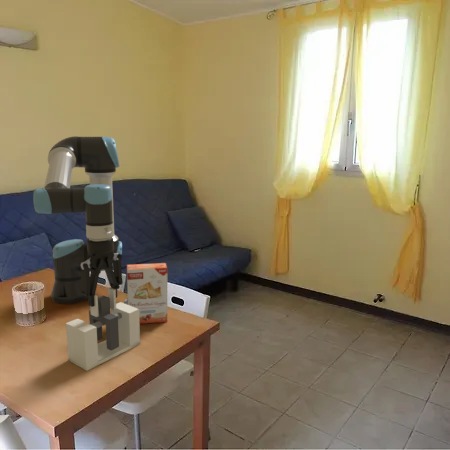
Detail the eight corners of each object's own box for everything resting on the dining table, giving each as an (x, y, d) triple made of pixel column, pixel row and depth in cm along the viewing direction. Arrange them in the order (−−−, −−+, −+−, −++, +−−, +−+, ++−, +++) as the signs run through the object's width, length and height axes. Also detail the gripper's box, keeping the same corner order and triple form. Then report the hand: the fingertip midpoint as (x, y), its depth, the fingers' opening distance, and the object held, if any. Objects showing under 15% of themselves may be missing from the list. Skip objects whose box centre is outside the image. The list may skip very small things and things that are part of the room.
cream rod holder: (68, 360, 123) (65, 323, 121) (121, 335, 139) (120, 302, 136) (86, 370, 118) (84, 332, 115) (140, 343, 134) (139, 309, 131)
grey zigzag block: (90, 340, 129) (87, 295, 126) (98, 336, 132) (96, 292, 128) (111, 350, 124) (108, 303, 120) (119, 346, 126) (117, 300, 123)
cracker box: (128, 325, 146) (126, 269, 141) (128, 318, 152) (126, 263, 147) (168, 322, 149) (167, 267, 145) (166, 315, 155) (165, 261, 150)
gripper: (79, 246, 111) (84, 326, 116) (133, 234, 126) (135, 305, 131) (63, 242, 115) (68, 318, 120) (117, 230, 130) (120, 299, 135)
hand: (103, 311), depth 126 cm, fingers open, 6 cm apart
